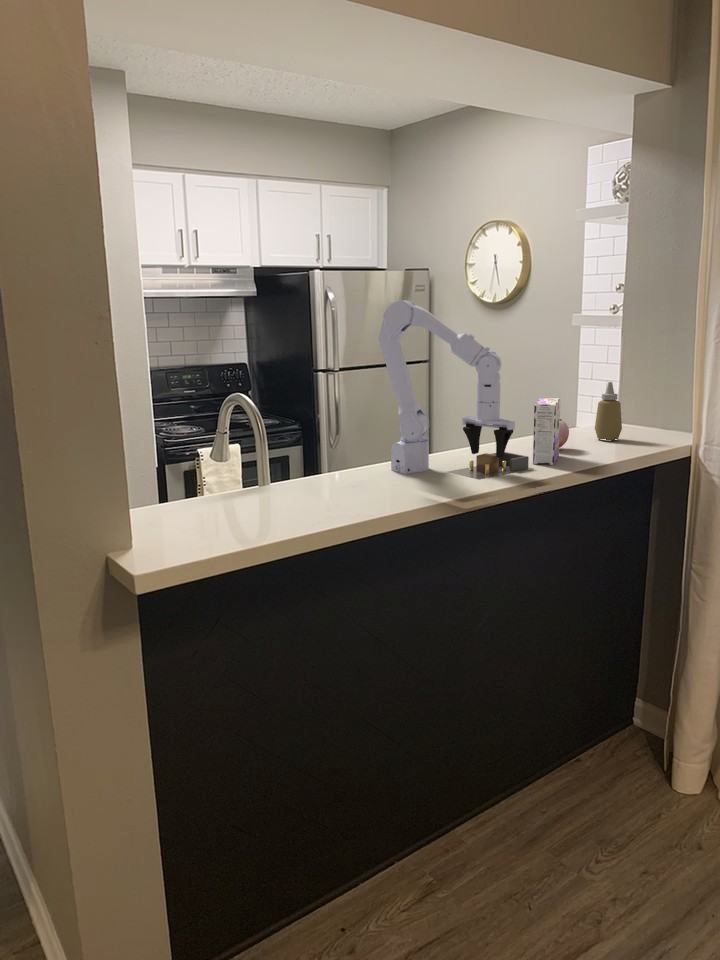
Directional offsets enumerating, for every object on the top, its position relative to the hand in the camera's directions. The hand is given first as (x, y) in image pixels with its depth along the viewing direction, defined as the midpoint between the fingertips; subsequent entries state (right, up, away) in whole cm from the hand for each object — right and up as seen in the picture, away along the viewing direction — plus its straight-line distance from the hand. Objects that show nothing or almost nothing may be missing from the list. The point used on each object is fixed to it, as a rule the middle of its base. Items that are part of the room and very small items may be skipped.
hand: (487, 455), depth 197 cm
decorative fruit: (+25, +2, +32) cm, 41 cm away
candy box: (+19, -1, +18) cm, 26 cm away
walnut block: (0, -4, +1) cm, 4 cm away
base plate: (+1, -5, +2) cm, 5 cm away
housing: (+6, -3, +4) cm, 8 cm away
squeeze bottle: (+45, +6, +45) cm, 64 cm away
